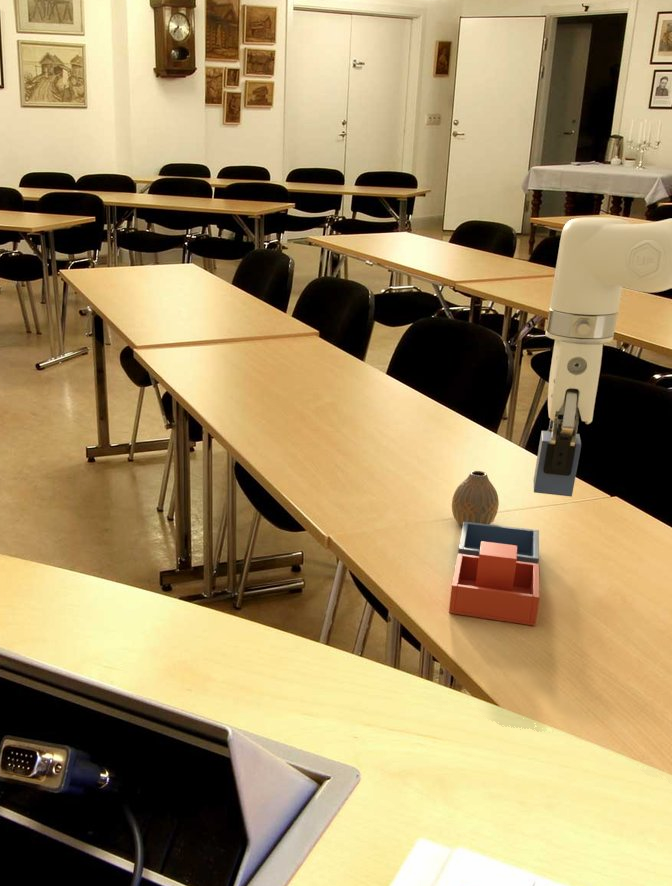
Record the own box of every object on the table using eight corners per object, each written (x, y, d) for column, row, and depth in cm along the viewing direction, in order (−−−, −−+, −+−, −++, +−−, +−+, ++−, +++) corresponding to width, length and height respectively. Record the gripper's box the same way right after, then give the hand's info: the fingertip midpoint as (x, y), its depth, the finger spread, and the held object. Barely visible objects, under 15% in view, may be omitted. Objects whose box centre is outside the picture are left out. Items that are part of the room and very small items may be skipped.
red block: (510, 593, 122) (517, 545, 119) (509, 608, 118) (516, 559, 115) (475, 587, 123) (481, 540, 121) (473, 602, 119) (479, 554, 117)
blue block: (570, 484, 119) (579, 433, 116) (571, 496, 115) (581, 444, 112) (533, 480, 121) (541, 430, 118) (533, 492, 117) (542, 440, 114)
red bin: (535, 590, 123) (539, 563, 122) (535, 626, 114) (539, 597, 113) (454, 579, 127) (457, 553, 125) (448, 613, 118) (451, 585, 116)
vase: (458, 513, 149) (463, 462, 145) (501, 522, 145) (508, 470, 141) (443, 527, 144) (449, 476, 140) (488, 537, 140) (494, 484, 136)
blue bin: (535, 555, 134) (538, 530, 132) (535, 585, 125) (539, 558, 123) (460, 545, 137) (463, 521, 136) (455, 574, 128) (458, 548, 127)
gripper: (621, 341, 101) (592, 493, 108) (609, 314, 116) (584, 450, 123) (548, 337, 104) (524, 486, 111) (545, 311, 118) (524, 444, 125)
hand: (556, 465), depth 117 cm, fingers closed on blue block, 4 cm apart
